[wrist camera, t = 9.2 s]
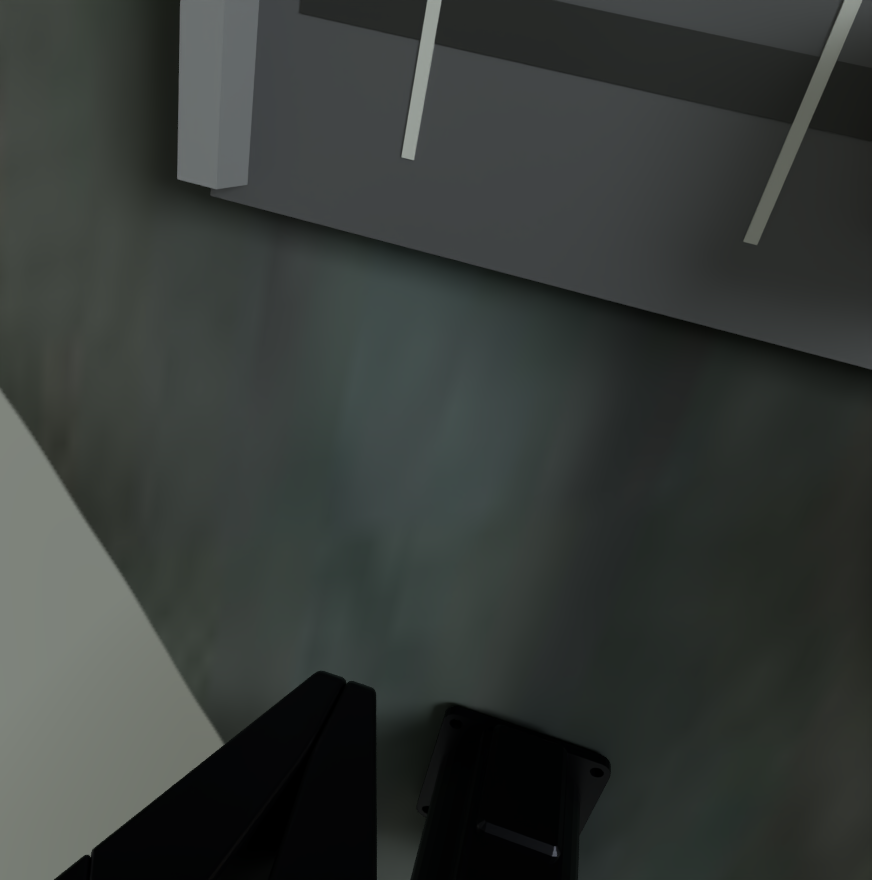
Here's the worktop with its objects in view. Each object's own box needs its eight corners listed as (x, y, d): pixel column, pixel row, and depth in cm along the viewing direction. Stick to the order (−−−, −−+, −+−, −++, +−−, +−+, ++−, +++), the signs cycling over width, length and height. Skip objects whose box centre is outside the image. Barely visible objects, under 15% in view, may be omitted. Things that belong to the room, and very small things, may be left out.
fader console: (1239, 447, 16) (1395, 525, 13) (247, 189, 18) (176, 201, 15) (1696, -57, 11) (2120, -130, 8) (279, -298, 14) (187, -420, 11)
